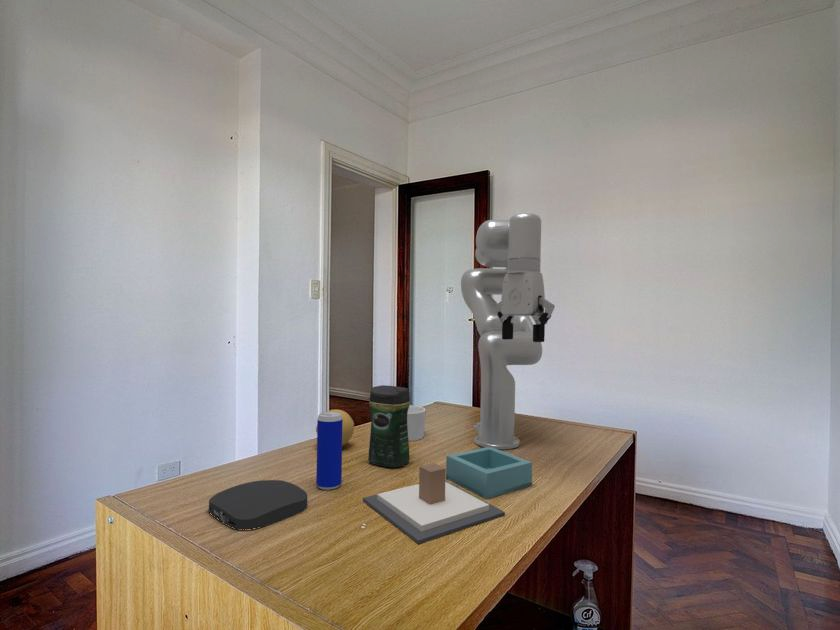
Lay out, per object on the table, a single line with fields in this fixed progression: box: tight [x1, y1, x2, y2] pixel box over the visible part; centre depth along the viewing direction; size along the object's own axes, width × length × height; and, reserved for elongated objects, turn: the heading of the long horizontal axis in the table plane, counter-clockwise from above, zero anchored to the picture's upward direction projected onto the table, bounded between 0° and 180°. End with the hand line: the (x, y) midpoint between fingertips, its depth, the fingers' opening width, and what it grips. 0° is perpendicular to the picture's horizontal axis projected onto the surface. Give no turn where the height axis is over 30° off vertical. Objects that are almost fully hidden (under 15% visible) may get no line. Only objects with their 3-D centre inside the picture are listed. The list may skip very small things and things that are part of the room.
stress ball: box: [315, 409, 355, 447], centre depth 120 cm, size 10×10×10 cm
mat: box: [362, 480, 506, 545], centre depth 84 cm, size 19×19×1 cm
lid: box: [376, 462, 490, 532], centre depth 84 cm, size 15×15×7 cm
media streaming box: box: [208, 479, 308, 530], centre depth 83 cm, size 15×15×3 cm
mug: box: [407, 404, 427, 442], centre depth 133 cm, size 13×10×8 cm
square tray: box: [445, 447, 533, 500], centre depth 98 cm, size 13×13×5 cm
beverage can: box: [315, 411, 343, 491], centre depth 94 cm, size 5×5×15 cm
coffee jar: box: [368, 384, 411, 468], centre depth 109 cm, size 10×8×19 cm
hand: (522, 340), depth 106 cm, fingers open, 9 cm apart
